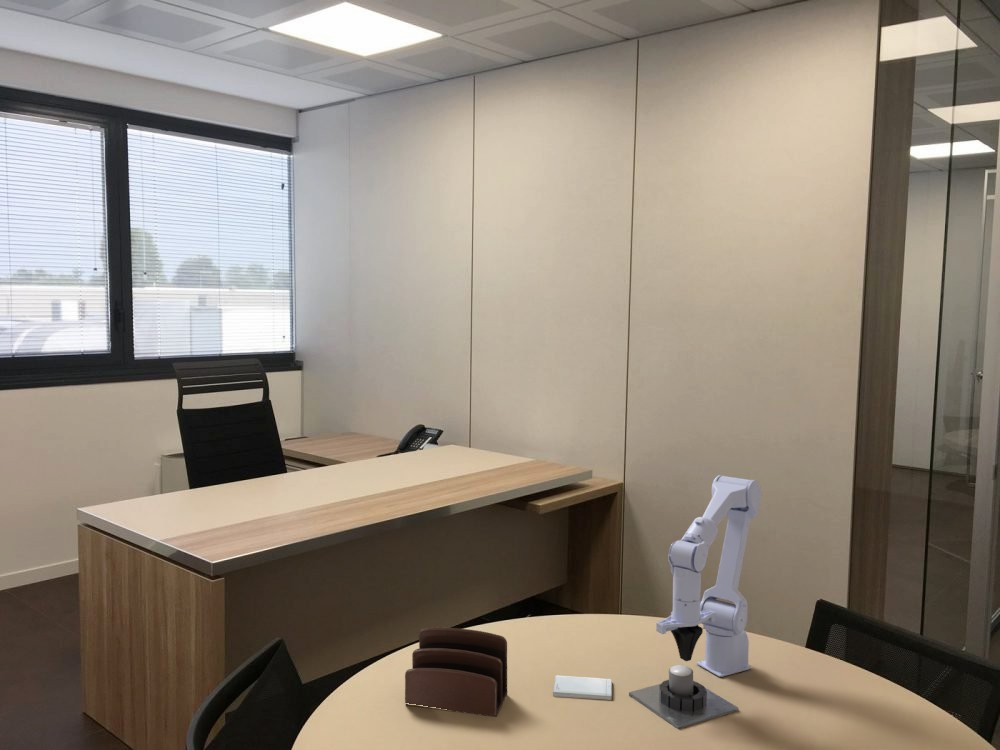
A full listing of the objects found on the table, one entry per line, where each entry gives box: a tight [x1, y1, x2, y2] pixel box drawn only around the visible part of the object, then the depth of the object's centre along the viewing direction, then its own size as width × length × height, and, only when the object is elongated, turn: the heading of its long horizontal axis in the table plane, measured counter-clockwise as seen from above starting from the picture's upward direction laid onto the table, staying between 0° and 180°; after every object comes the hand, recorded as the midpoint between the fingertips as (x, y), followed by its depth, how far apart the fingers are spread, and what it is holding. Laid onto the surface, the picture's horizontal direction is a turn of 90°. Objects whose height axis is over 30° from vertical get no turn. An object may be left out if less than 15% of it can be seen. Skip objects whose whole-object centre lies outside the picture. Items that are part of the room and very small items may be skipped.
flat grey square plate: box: [628, 679, 740, 730], centre depth 174 cm, size 16×16×3 cm
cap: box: [668, 664, 694, 696], centre depth 174 cm, size 5×5×6 cm
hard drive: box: [552, 675, 613, 701], centre depth 180 cm, size 2×8×12 cm
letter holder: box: [404, 627, 508, 718], centre depth 174 cm, size 10×20×14 cm, turn 76°
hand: (685, 659), depth 177 cm, fingers closed
